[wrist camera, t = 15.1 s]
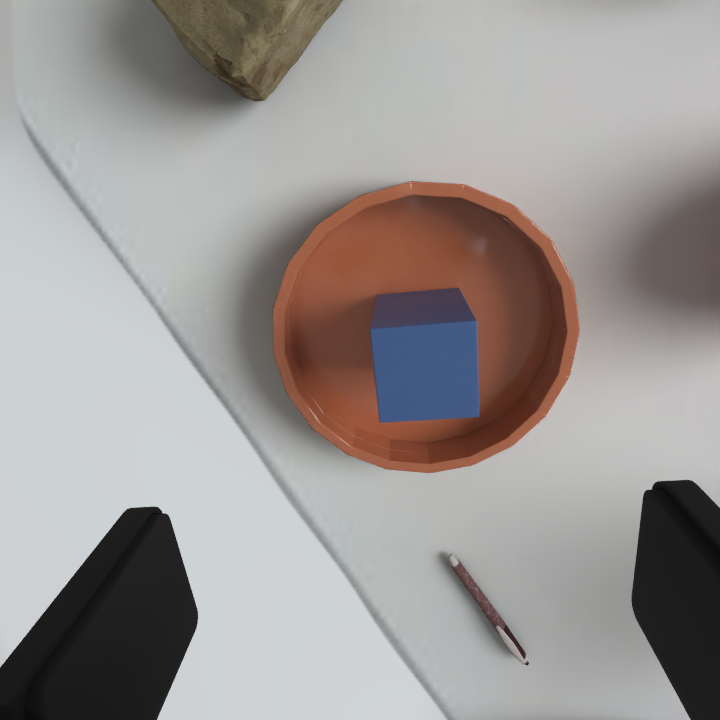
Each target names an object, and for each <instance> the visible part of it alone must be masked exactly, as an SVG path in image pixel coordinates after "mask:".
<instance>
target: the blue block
mask: <svg viewBox="0 0 720 720" xmlns="http://www.w3.org/2000/svg"><path fill="white" fill-rule="evenodd" d="M370 336H371V345H372V355H373V365H374V375H375V385H376V395H377V405H378V415H379V422H380V423H385V422H403V421H420V420H437V419H455V418H472V417H479V374H478V330H477V320H476V318H475V316H474V315H473V313H472V311H471V309H470V307H469V305H468V304H467V302H466V300H465V298H464V296H463V294H462V293H461V291H460V289H459V288H448V289H437V290H425V291H413V292H402V293H390V294H379V295H377V297H376V302H375V307H374V312H373V317H372V322H371V327H370Z"/></svg>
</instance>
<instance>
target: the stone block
mask: <svg viewBox="0 0 720 720" xmlns="http://www.w3.org/2000/svg"><path fill="white" fill-rule="evenodd" d="M152 2H153V3H154V4H155V5H156V7H157V8H158V9H159V10H160V12H161V13H162V14H163V15H164V17H165V18H166V19H167V20H168V22H169V23H170V24H171V26H172V28H173V29H174V31H175V33H176V35H177V37H178V38H179V40H180V41H181V43H182V44H183V46H184V47H185V48H186V50H187V51H188V52H189V53H190V54H191V55H192V56H193V57H194V58H195V59H196V60H197V61H198V62H199V63H200V64H202V65H203V66H204V67H205V68H206V69H207V70H208V71H210V72H211V73H213V74H214V75H216V76H217V77H218V78H219V79H220V80H221V81H223V82H225V83H226V84H228V85H229V86H230V87H232V88H233V89H234V90H235V91H236V92H237V93H239V94H240V95H241V96H243V97H245V98H248V99H251V100H253V101H263V100H266V99H267V97H268V96H269V95H270V93H272V92H273V91H274V90H275V89H276V87H277V86H278V84H279V83H280V82H281V80H282V79H283V77H284V76H285V75H286V73H287V72H288V71H289V69H290V68H291V67H292V66H293V65H294V64H295V63H296V62H297V61H298V59H299V58H300V56H301V55H302V53H303V52H304V50H305V49H306V48H307V46H308V45H309V43H310V42H311V40H312V39H313V37H314V36H315V35H316V33H317V32H318V30H319V29H320V28H321V26H322V25H323V24H324V22H325V21H326V20H327V19H328V18H329V17H330V16H331V15H332V14H333V13H334V12H335V11H336V9H337V8H338V6H339V5H340V3H341V2H342V0H152Z"/></svg>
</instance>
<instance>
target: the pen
mask: <svg viewBox="0 0 720 720" xmlns="http://www.w3.org/2000/svg"><path fill="white" fill-rule="evenodd" d="M448 559H449V562H450V564H451V567H452V568H453V570H454V571H455V573H456V574H457V575H458V577H459V578H460V580H461V581H462V582H463V584H464V585H465V587H466V588H467V590H468V591H469V592H470V594H471V595H472V597H473V598H474V599H475V601H476V602H477V604H478V605H479V607H480V608H481V609H482V611H483V612H484V614H485V615H486V617H487V618H488V619H489V621H490V622H491V624H492V625H493V627H494V628H495V629H496V631H497V632H498V634H499V635H500V636H501V637H502V639H503V640H504V642H505V643H506V645H507V647H508V648H509V649H510V650H511V652H512V653H513V654H514V655H515V656H516V658H517V659H518V660H519V661H520V662H521V663H522V664H525V665H528V664H529V662H528V659H527V655H526V653H525V652H524V650H523V649H522V647H521V646H520V644H519V643H518V641H517V640H516V639H515V637H514V636H513V634H512V633H511V631H510V630H509V628H508V627H507V625H506V624H505V622H504V621H503V620H502V618H501V617H500V616H499V614H498V613H497V612H496V610H495V609H494V607H493V606H492V605H491V603H490V602H489V601H488V599H487V598H486V597H485V595H484V594H483V593H482V591H481V590H480V588H479V587H478V586H477V584H476V583H475V582H474V580H473V579H472V578H471V576H470V575H469V573H468V572H467V571H466V569H465V568H464V567H463V565H462V564H461V563H460V561H459V560H458V559H456V558H455V557H454V556H453V555H452V554H449V553H448Z"/></svg>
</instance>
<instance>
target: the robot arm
mask: <svg viewBox="0 0 720 720" xmlns="http://www.w3.org/2000/svg"><path fill="white" fill-rule="evenodd" d="M632 607H633V611H634V614H635V617H636V619H637V621H638V623H639V625H640V627H641V629H642V631H643V632H644V634H645V636H646V638H647V640H648V642H649V644H650V645H651V647H652V649H653V651H654V653H655V655H656V656H657V658H658V660H659V662H660V664H661V666H662V667H663V669H664V671H665V673H666V675H667V677H668V679H669V680H670V682H671V684H672V686H673V688H674V690H675V691H676V693H677V695H678V697H679V699H680V701H681V702H682V704H683V706H684V708H685V710H686V712H687V714H688V715H689V717H690V719H691V720H720V508H719V507H718V506H717V505H716V504H715V503H714V502H713V501H712V500H711V499H710V498H709V496H708V495H707V494H706V493H705V492H704V491H703V490H702V489H701V488H700V487H699V486H698V485H697V484H696V483H694V482H693V481H690V480H678V481H658V482H656V483H655V484H654V485H653V488H652V490H647V491H645V493H644V496H643V503H642V512H641V521H640V529H639V538H638V546H637V555H636V564H635V572H634V581H633V589H632ZM197 621H198V611H197V607H196V604H195V600H194V597H193V594H192V590H191V587H190V584H189V580H188V577H187V574H186V571H185V567H184V564H183V561H182V557H181V554H180V550H179V547H178V544H177V541H176V537H175V534H174V530H173V527H172V524H171V520H170V518H169V516H168V515H167V514H163V513H162V511H161V510H160V509H159V508H158V507H140V508H130V509H127V510H126V511H125V512H124V513H123V514H122V515H121V516H120V518H119V519H118V520H117V522H116V523H115V524H114V525H113V527H112V528H111V529H110V530H109V532H108V533H107V534H106V535H105V537H104V538H103V539H102V540H101V542H100V543H99V544H98V545H97V547H96V548H95V549H94V551H93V552H92V553H91V554H90V556H89V557H88V558H87V559H86V560H85V562H84V563H83V565H82V566H81V567H80V568H79V569H78V571H77V572H76V573H75V574H74V576H73V577H72V578H71V579H70V581H69V582H68V583H67V585H66V586H65V587H64V588H63V589H62V591H61V592H60V593H59V595H58V596H57V597H56V598H55V599H54V601H53V602H52V603H51V605H50V606H49V607H48V609H47V610H46V611H45V612H44V613H43V615H42V616H41V617H40V619H39V620H38V621H37V622H36V623H35V625H34V626H33V627H32V628H31V630H30V631H29V633H27V635H26V636H25V637H24V638H23V640H22V641H21V642H20V644H19V645H18V646H17V647H16V649H15V650H14V651H13V652H12V654H11V655H10V656H9V657H8V659H7V660H6V661H5V662H4V664H3V665H2V666H1V667H0V720H157V718H158V716H159V713H160V711H161V708H162V706H163V704H164V702H165V699H166V697H167V695H168V692H169V690H170V688H171V685H172V683H173V681H174V679H175V676H176V674H177V672H178V669H179V667H180V665H181V662H182V660H183V658H184V656H185V653H186V651H187V648H188V646H189V644H190V642H191V639H192V637H193V635H194V632H195V630H196V627H197Z"/></svg>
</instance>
